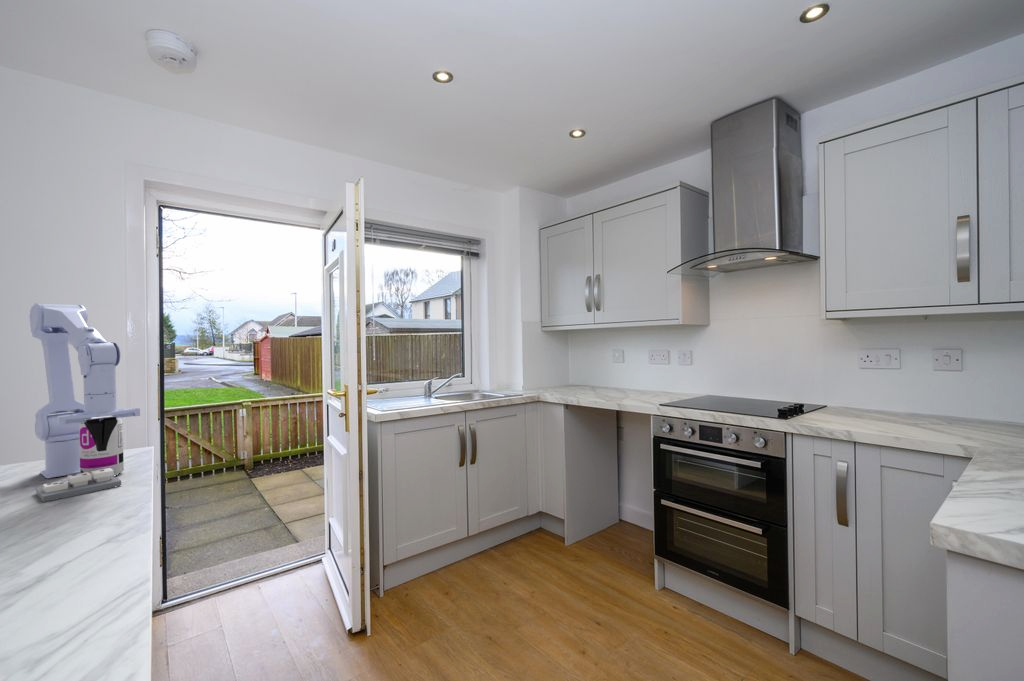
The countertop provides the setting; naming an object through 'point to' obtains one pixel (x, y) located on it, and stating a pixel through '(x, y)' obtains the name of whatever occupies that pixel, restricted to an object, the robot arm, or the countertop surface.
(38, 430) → the robot arm
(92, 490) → the keypad
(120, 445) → the supplement can
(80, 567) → the countertop surface
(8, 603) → the countertop surface
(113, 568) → the countertop surface
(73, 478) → the tile two
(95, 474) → the tile one
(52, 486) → the tile three
